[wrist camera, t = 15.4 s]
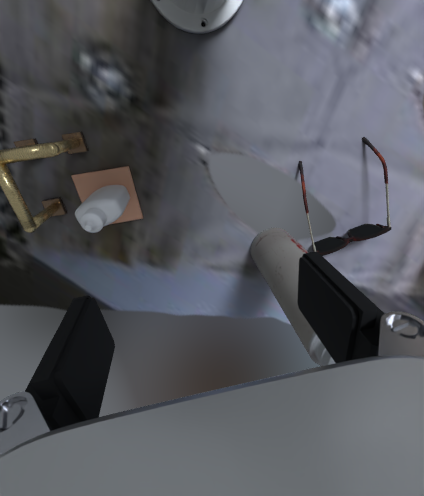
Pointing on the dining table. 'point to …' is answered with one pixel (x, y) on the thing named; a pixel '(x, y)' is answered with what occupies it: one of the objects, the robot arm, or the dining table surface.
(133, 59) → the dining table surface
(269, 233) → the thermos bottle
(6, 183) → the bent handrail
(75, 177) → the terracotta tile
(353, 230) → the sunglasses
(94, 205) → the eye dropper bottle
